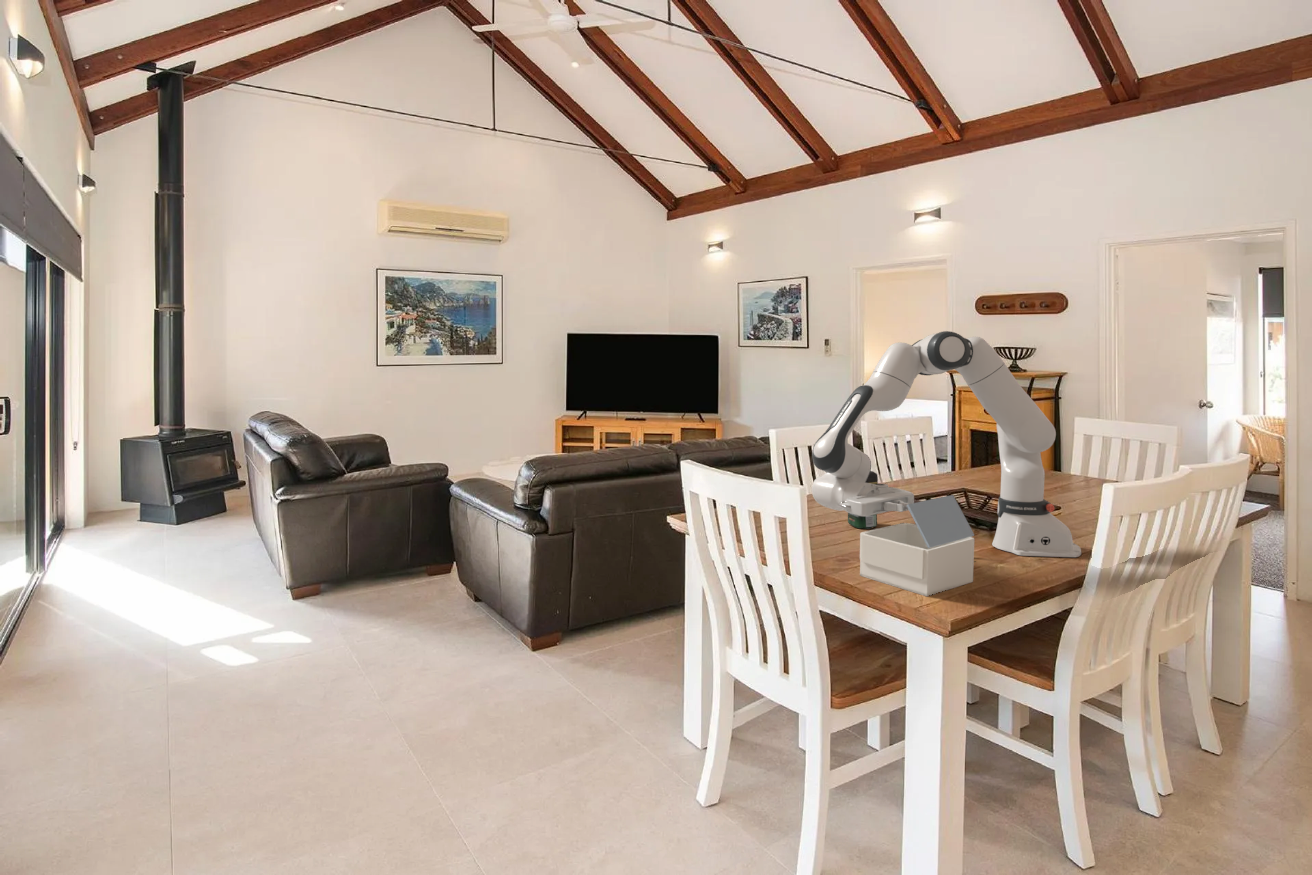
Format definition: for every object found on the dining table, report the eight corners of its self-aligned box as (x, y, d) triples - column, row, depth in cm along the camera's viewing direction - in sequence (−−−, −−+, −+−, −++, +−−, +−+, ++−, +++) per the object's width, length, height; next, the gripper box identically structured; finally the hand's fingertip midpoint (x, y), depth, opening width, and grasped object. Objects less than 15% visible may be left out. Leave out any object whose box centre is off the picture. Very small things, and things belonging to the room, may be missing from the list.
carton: (856, 575, 196) (857, 533, 195) (905, 562, 207) (906, 522, 206) (925, 597, 179) (926, 551, 178) (974, 581, 190) (975, 537, 189)
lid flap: (906, 505, 183) (908, 504, 182) (951, 495, 192) (953, 494, 192) (928, 548, 179) (930, 547, 178) (972, 536, 188) (974, 535, 188)
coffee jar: (843, 523, 251) (844, 466, 248) (866, 521, 252) (867, 465, 250) (857, 530, 241) (858, 471, 239) (880, 528, 243) (882, 470, 241)
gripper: (835, 492, 199) (878, 501, 187) (887, 482, 210) (931, 490, 199) (835, 516, 200) (878, 526, 188) (887, 505, 211) (930, 514, 200)
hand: (905, 507), depth 194 cm, fingers closed
